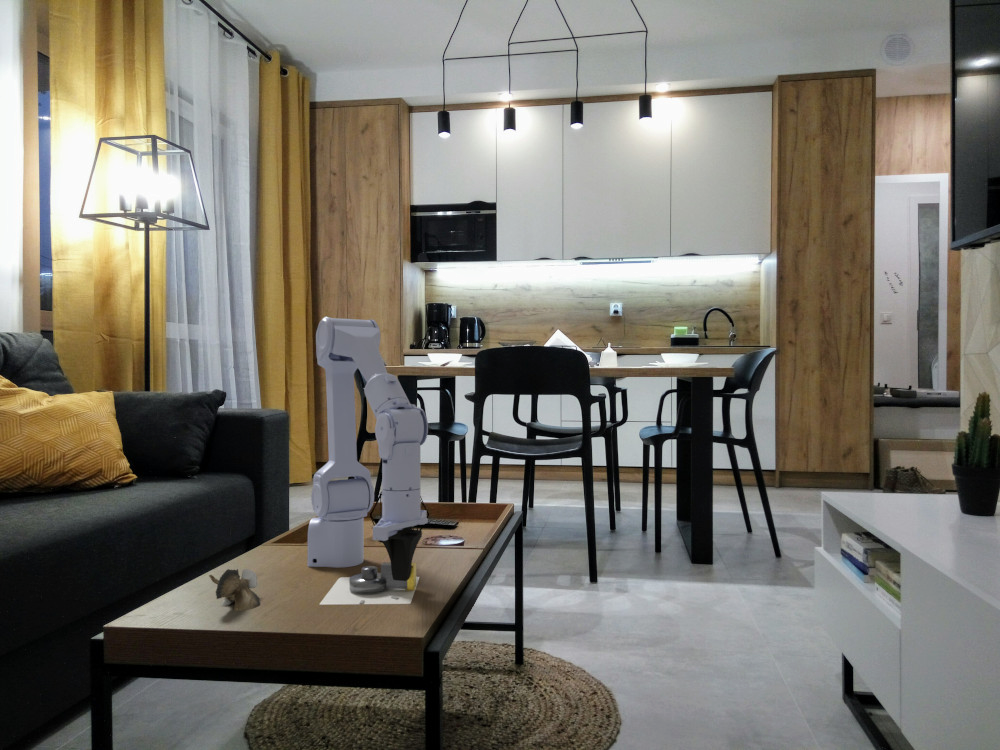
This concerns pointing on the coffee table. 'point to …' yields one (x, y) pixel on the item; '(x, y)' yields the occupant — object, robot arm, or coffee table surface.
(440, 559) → the coffee table surface
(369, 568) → the dial
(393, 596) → the dial plate
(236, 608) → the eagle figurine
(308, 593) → the coffee table surface
